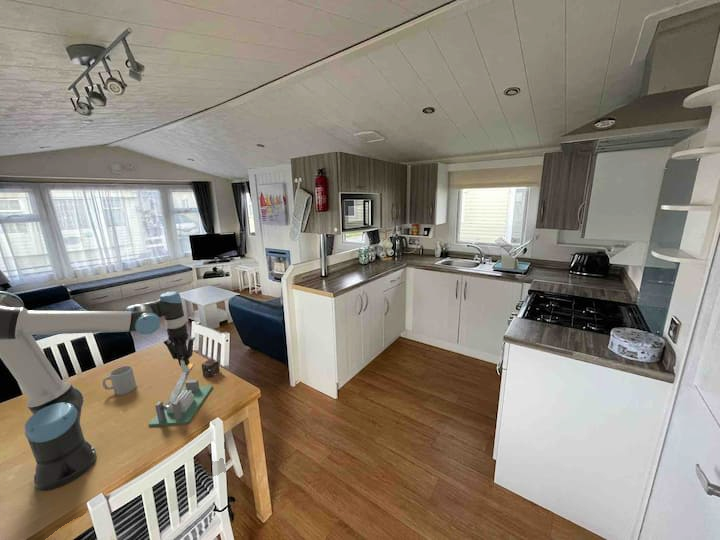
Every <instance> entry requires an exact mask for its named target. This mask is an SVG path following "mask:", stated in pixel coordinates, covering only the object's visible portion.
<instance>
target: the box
mask: <svg viewBox="0 0 720 540" xmlns="http://www.w3.org/2000/svg"><path fill="white" fill-rule="evenodd" d="M219 364H220V363H219V360H217V359H214V358H213V359H211V358H209V359H207V360H205V361H204V362H203V363H202V364H201V370H202V376H203V377H205V376H206V378H209V377H212V378H214V377H215V376H216V375H218V374H219V373H220V372H221V370H220V365H219ZM219 371H220V372H219ZM218 372H219V373H218ZM217 373H218V374H217ZM215 374H216V375H215ZM214 375H215V376H214ZM213 376H214V377H213Z"/></svg>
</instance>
